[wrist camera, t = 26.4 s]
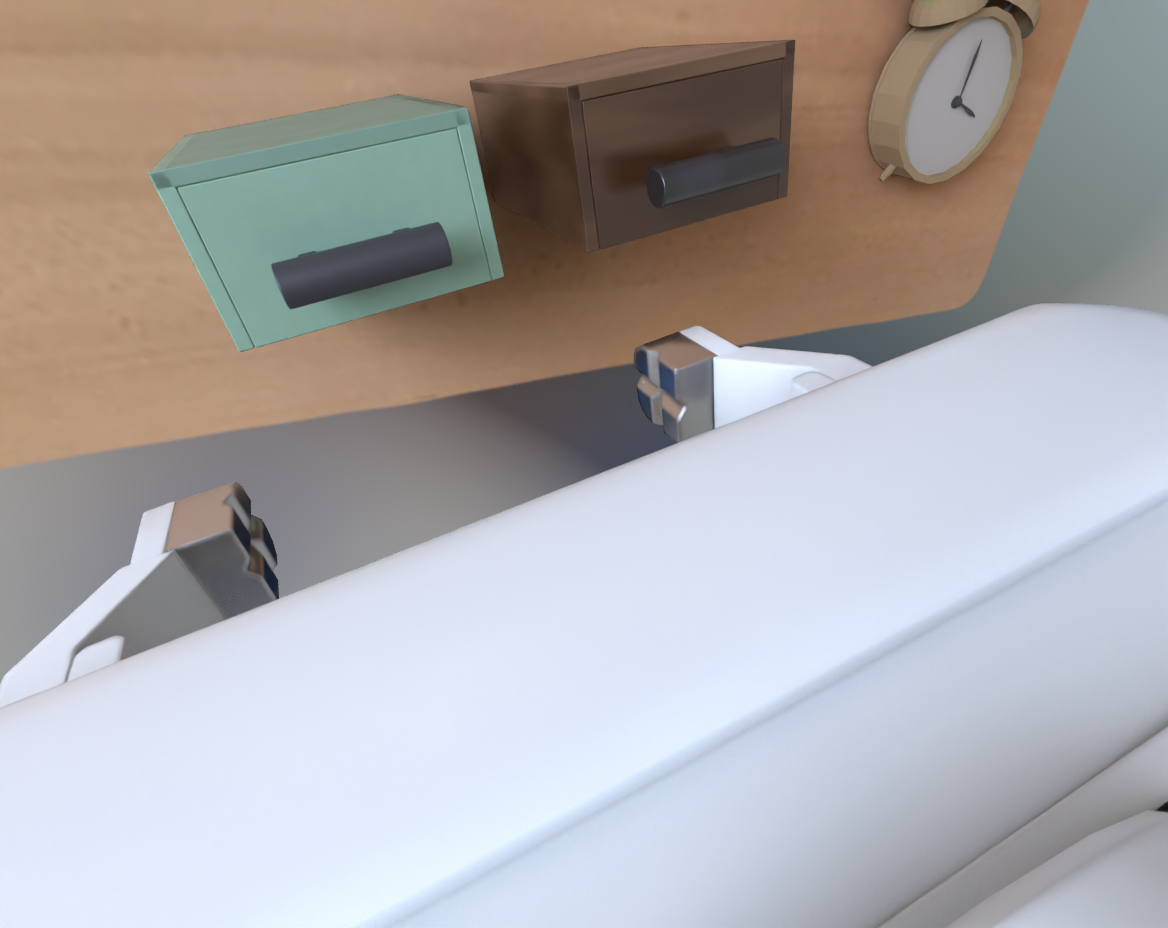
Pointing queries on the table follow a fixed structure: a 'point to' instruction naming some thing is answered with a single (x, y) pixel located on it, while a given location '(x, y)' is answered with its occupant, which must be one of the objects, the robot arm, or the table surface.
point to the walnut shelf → (639, 138)
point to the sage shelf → (331, 214)
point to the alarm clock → (948, 85)
